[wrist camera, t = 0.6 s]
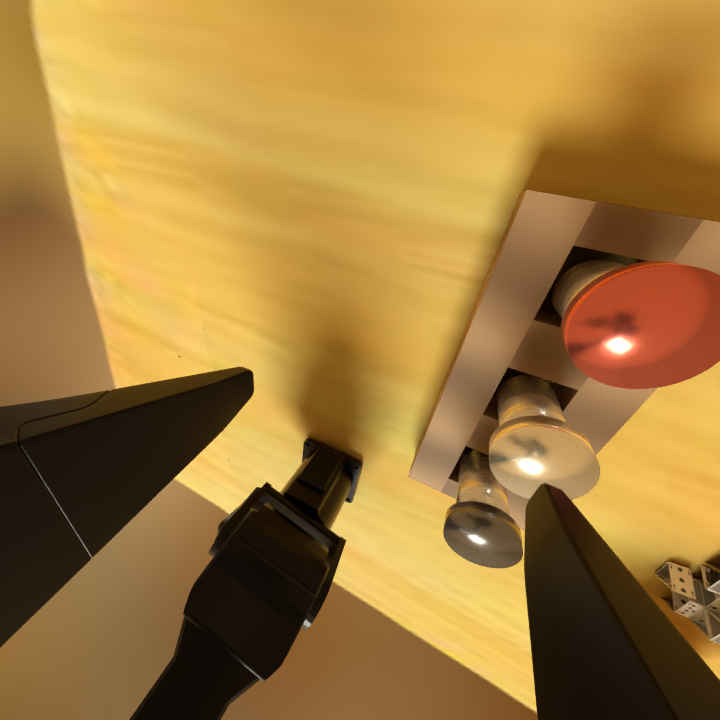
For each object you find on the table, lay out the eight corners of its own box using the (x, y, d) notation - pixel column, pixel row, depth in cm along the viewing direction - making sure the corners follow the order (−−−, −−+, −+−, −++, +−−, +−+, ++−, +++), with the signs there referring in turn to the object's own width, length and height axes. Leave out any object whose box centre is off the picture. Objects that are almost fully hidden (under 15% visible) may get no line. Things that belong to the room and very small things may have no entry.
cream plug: (543, 433, 17) (565, 515, 12) (478, 409, 18) (475, 476, 13) (581, 382, 15) (624, 456, 10) (505, 357, 16) (512, 415, 11)
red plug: (610, 341, 14) (675, 406, 9) (525, 318, 15) (543, 365, 10) (670, 259, 12) (794, 287, 7) (567, 238, 13) (614, 250, 8)
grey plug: (498, 495, 20) (502, 578, 16) (445, 471, 21) (434, 543, 17) (524, 460, 18) (538, 543, 14) (464, 436, 19) (457, 505, 15)
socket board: (520, 486, 23) (526, 531, 20) (418, 443, 25) (408, 476, 22) (718, 231, 13) (797, 235, 10) (518, 196, 15) (526, 189, 12)
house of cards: (629, 482, 20) (695, 605, 14) (798, 533, 17) (979, 715, 11) (575, 549, 24) (606, 666, 18) (704, 598, 22) (794, 755, 15)
